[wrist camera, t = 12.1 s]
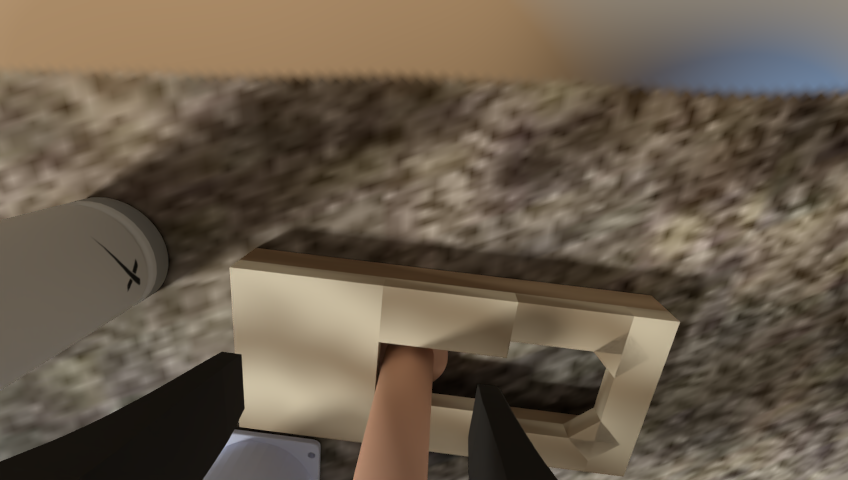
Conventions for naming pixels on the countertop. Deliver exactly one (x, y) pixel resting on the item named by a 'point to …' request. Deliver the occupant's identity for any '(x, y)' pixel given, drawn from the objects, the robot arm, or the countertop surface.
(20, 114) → the countertop surface
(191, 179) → the countertop surface
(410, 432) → the terracotta peg
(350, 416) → the keyhole plate
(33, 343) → the travel mug
